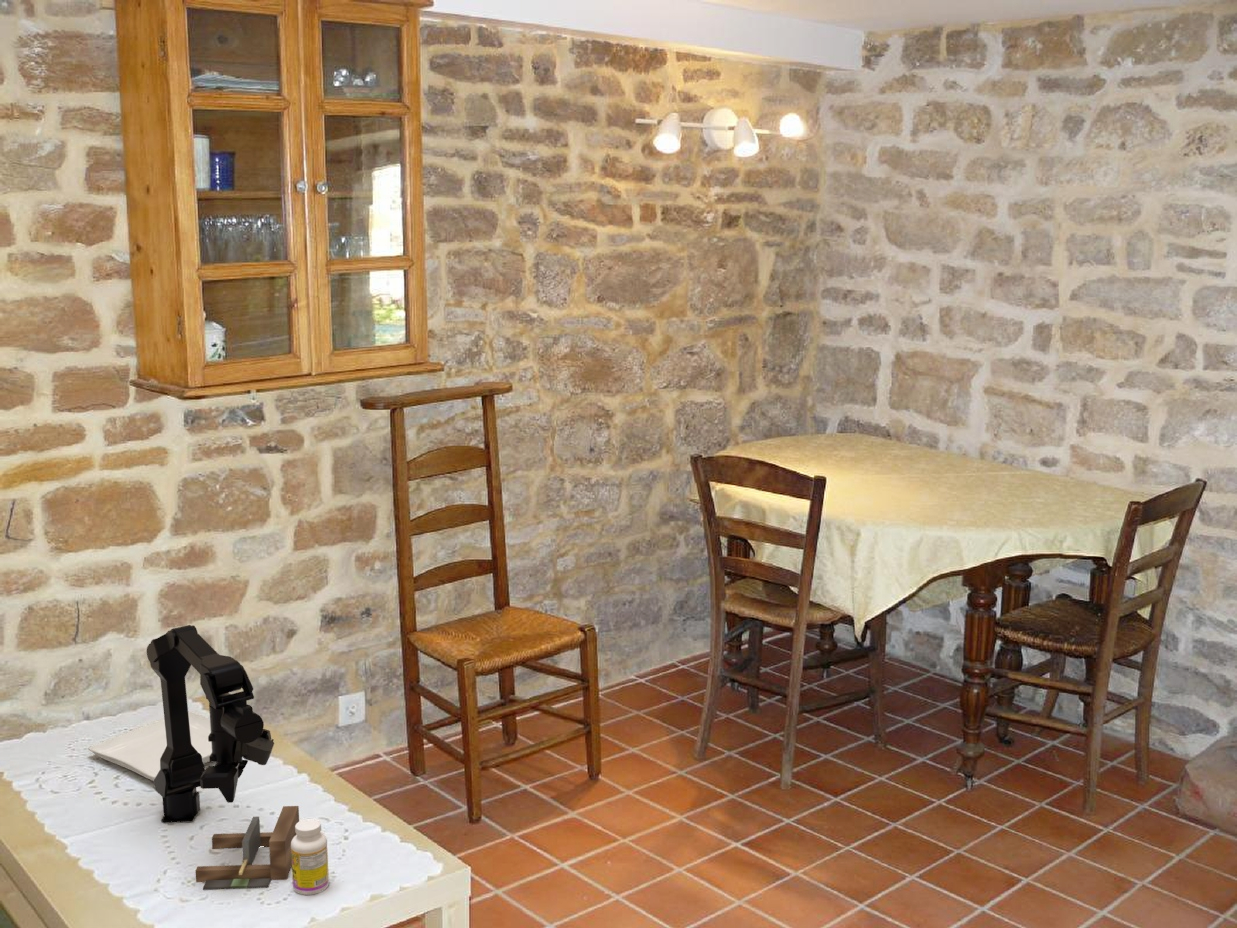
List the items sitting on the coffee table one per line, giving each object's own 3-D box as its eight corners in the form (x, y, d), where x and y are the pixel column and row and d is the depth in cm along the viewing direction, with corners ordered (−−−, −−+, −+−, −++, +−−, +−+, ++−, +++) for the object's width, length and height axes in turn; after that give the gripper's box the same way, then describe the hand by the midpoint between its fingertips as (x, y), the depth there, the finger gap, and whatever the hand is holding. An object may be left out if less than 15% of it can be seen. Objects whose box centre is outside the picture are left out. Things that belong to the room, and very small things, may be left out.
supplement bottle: (296, 878, 237) (293, 816, 234) (331, 876, 237) (328, 815, 235) (290, 896, 230) (286, 833, 227) (326, 895, 231) (323, 832, 228)
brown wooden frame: (192, 890, 232) (189, 851, 230) (214, 844, 249) (212, 808, 247) (284, 887, 233) (282, 848, 232) (300, 842, 250) (298, 805, 248)
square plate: (187, 722, 309) (186, 708, 308) (258, 750, 293) (257, 735, 292) (87, 760, 287) (85, 744, 286) (157, 792, 272) (156, 776, 271)
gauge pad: (237, 883, 232) (236, 854, 231) (254, 844, 247) (253, 816, 246) (244, 883, 233) (242, 854, 231) (260, 844, 247) (259, 816, 246)
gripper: (258, 745, 228) (263, 823, 231) (278, 706, 246) (282, 779, 249) (197, 747, 227) (202, 825, 230) (221, 707, 245) (225, 780, 248)
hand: (230, 801), depth 239 cm, fingers closed
